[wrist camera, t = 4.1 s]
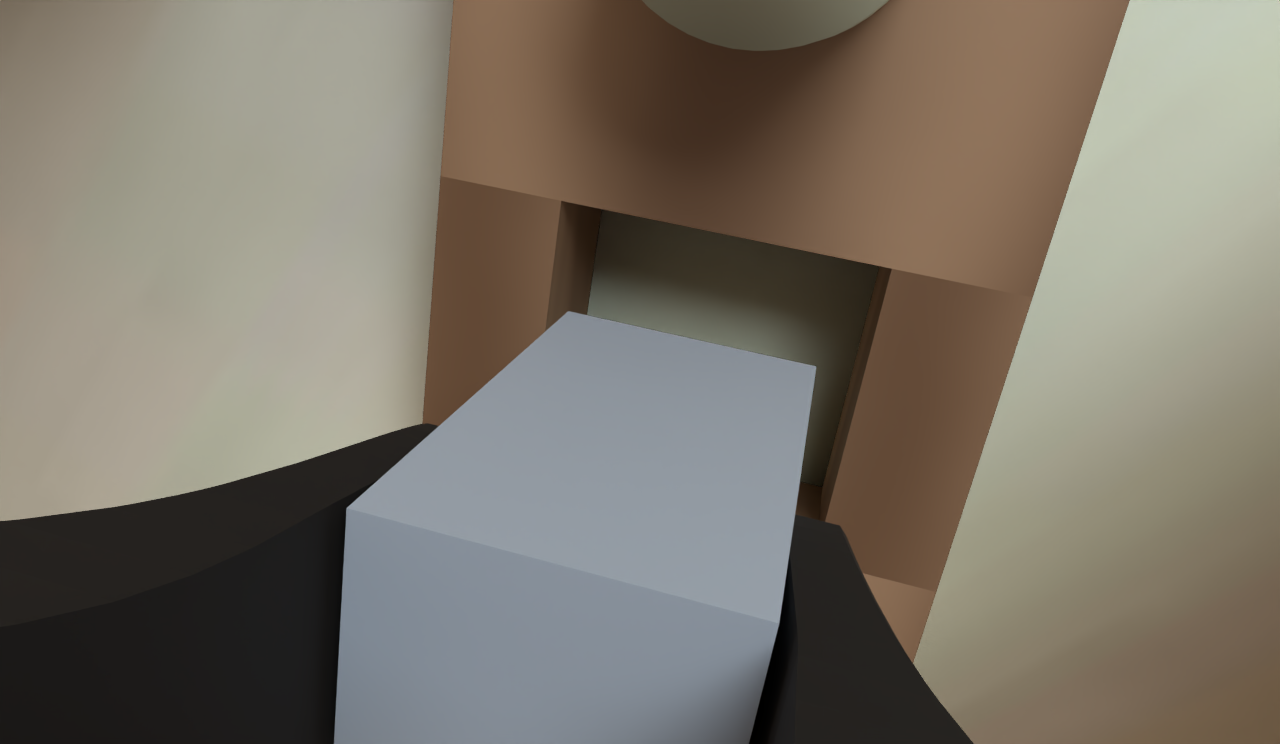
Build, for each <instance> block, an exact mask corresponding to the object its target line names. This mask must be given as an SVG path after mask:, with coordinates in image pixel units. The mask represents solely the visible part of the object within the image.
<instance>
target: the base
mask: <svg viewBox="0 0 1280 744" xmlns="http://www.w3.org/2000/svg"><path fill="white" fill-rule="evenodd" d="M1129 1H1130V0H454V1H453V15H452V28H451V42H450V56H449V69H448V83H447V97H446V110H445V124H444V138H443V151H442V165H441V179H440V192H439V206H438V220H437V233H436V247H435V261H434V274H433V288H432V302H431V315H430V329H429V343H428V356H427V370H426V384H425V397H424V411H423V424H425V423H429V424H433V425H437V426H440V425H441V424H442V423H443V422H444V421H445V420H446V419H447V418H449V417H450V416H451V415H452V414H453V413H454V412H455V411H456V410H458V409H459V408H460V407H461V406H462V405H463V404H464V403H465V402H467V401H468V400H469V399H470V398H471V397H472V396H473V395H474V394H476V393H477V392H478V391H479V390H480V389H481V388H482V387H484V386H485V385H486V384H487V383H488V382H489V381H490V380H491V379H493V378H494V377H495V376H496V375H497V374H498V373H499V372H500V371H502V370H503V369H504V368H505V367H506V366H507V365H508V364H509V363H511V362H512V361H513V360H514V359H515V358H516V357H517V356H518V355H520V354H521V353H522V352H523V351H524V350H525V349H526V348H527V347H529V346H530V345H531V344H532V343H533V342H534V341H535V340H536V339H538V338H539V337H540V336H541V335H542V334H543V333H544V332H545V331H547V330H548V329H549V328H550V327H551V326H552V325H553V324H554V323H556V322H557V321H558V320H559V319H560V318H561V317H562V316H563V315H565V314H566V313H567V312H568V311H570V312H575V313H579V314H584V315H587V310H588V303H589V296H590V289H591V282H592V275H593V267H594V260H595V253H596V246H597V239H598V232H599V224H600V217H601V210H602V209H604V210H609V211H614V212H618V213H623V214H628V215H633V216H638V217H643V218H648V219H652V220H657V221H662V222H667V223H672V224H677V225H682V226H687V227H691V228H696V229H701V230H706V231H711V232H716V233H721V234H726V235H730V236H735V237H740V238H745V239H750V240H755V241H760V242H765V243H769V244H774V245H779V246H784V247H789V248H794V249H799V250H804V251H808V252H813V253H818V254H823V255H828V256H833V257H838V258H842V259H847V260H852V261H857V262H862V263H867V264H872V265H877V266H879V270H878V274H877V278H876V282H875V286H874V290H873V293H872V297H871V301H870V305H869V309H868V313H867V317H866V320H865V324H864V328H863V332H862V336H861V340H860V344H859V347H858V351H857V355H856V359H855V363H854V367H853V371H852V375H851V378H850V382H849V386H848V390H847V394H846V398H845V402H844V405H843V409H842V413H841V417H840V421H839V425H838V429H837V432H836V436H835V440H834V444H833V448H832V452H831V456H830V460H829V463H828V467H827V471H826V475H825V479H824V483H823V487H819V486H815V485H811V484H807V483H803V482H800V484H799V491H798V498H797V505H796V511H795V514H796V515H800V516H804V517H808V518H812V519H816V520H820V521H824V522H828V523H832V524H836V525H840V526H841V528H842V530H843V531H844V533H845V534H846V536H847V538H848V541H849V543H850V546H851V548H852V551H853V553H854V555H855V557H856V560H857V562H858V564H859V566H860V569H861V571H862V573H863V575H864V577H865V579H866V581H867V583H868V585H869V587H870V589H871V591H872V593H873V595H874V597H875V599H876V601H877V603H878V605H879V607H880V608H881V610H882V612H883V614H884V616H885V617H886V619H887V621H888V623H889V624H890V626H891V628H892V630H893V632H894V633H895V635H896V637H897V639H898V640H899V642H900V644H901V645H902V647H903V649H904V650H905V652H906V654H907V655H908V657H909V658H910V660H911V661H912V663H913V662H914V658H915V655H916V652H917V649H918V646H919V643H920V640H921V637H922V634H923V631H924V628H925V625H926V622H927V619H928V616H929V613H930V610H931V606H932V603H933V600H934V597H935V594H936V591H937V588H938V585H939V582H940V579H941V576H942V573H943V570H944V567H945V564H946V561H947V558H948V554H949V551H950V548H951V545H952V542H953V539H954V536H955V533H956V530H957V527H958V524H959V521H960V518H961V515H962V512H963V509H964V505H965V502H966V499H967V496H968V493H969V490H970V487H971V484H972V481H973V478H974V475H975V472H976V469H977V466H978V463H979V460H980V457H981V453H982V450H983V447H984V444H985V441H986V438H987V435H988V432H989V429H990V426H991V423H992V420H993V417H994V414H995V411H996V408H997V405H998V401H999V398H1000V395H1001V392H1002V389H1003V386H1004V383H1005V380H1006V377H1007V374H1008V371H1009V368H1010V365H1011V362H1012V359H1013V356H1014V353H1015V349H1016V346H1017V343H1018V340H1019V337H1020V334H1021V331H1022V328H1023V325H1024V322H1025V319H1026V316H1027V313H1028V310H1029V307H1030V304H1031V300H1032V297H1033V294H1034V291H1035V288H1036V285H1037V282H1038V279H1039V276H1040V273H1041V270H1042V267H1043V264H1044V261H1045V258H1046V255H1047V252H1048V248H1049V245H1050V242H1051V239H1052V236H1053V233H1054V230H1055V227H1056V224H1057V221H1058V218H1059V215H1060V212H1061V209H1062V206H1063V203H1064V200H1065V196H1066V193H1067V190H1068V187H1069V184H1070V181H1071V178H1072V175H1073V172H1074V169H1075V166H1076V163H1077V160H1078V157H1079V154H1080V151H1081V147H1082V144H1083V141H1084V138H1085V135H1086V132H1087V129H1088V126H1089V123H1090V120H1091V117H1092V114H1093V111H1094V108H1095V105H1096V102H1097V99H1098V95H1099V92H1100V89H1101V86H1102V83H1103V80H1104V77H1105V74H1106V71H1107V68H1108V65H1109V62H1110V59H1111V56H1112V53H1113V50H1114V47H1115V43H1116V40H1117V37H1118V34H1119V31H1120V28H1121V25H1122V22H1123V19H1124V16H1125V13H1126V10H1127V7H1128V4H1129Z"/></svg>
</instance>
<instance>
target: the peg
mask: <svg viewBox="0 0 1280 744" xmlns="http://www.w3.org/2000/svg"><path fill="white" fill-rule="evenodd" d="M816 367H817V366H812V365H808V364H803V363H799V362H794V361H790V360H786V359H781V358H777V357H772V356H768V355H763V354H759V353H754V352H750V351H745V350H741V349H736V348H732V347H727V346H723V345H718V344H714V343H709V342H705V341H700V340H696V339H691V338H687V337H682V336H678V335H673V334H669V333H664V332H660V331H655V330H651V329H647V328H642V327H638V326H633V325H629V324H624V323H620V322H615V321H611V320H606V319H602V318H597V317H593V316H588V315H584V314H579V313H575V312H570V311H568V312H567V313H566V314H565V315H563V316H562V317H561V318H560V319H559V320H558V321H557V322H556V323H554V324H553V325H552V326H551V327H550V328H549V329H548V330H547V331H545V332H544V333H543V334H542V335H541V336H540V337H539V338H538V339H536V340H535V341H534V342H533V343H532V344H531V345H530V346H529V347H527V348H526V349H525V350H524V351H523V352H522V353H521V354H520V355H518V356H517V357H516V358H515V359H514V360H513V361H512V362H511V363H509V364H508V365H507V366H506V367H505V368H504V369H503V370H502V371H500V372H499V373H498V374H497V375H496V376H495V377H494V378H493V379H491V380H490V381H489V382H488V383H487V384H486V385H485V386H484V387H482V388H481V389H480V390H479V391H478V392H477V393H476V394H474V395H473V396H472V397H471V398H470V399H469V400H468V401H467V402H465V403H464V404H463V405H462V406H461V407H460V408H459V409H458V410H456V411H455V412H454V413H453V414H452V415H451V416H450V417H449V418H447V419H446V420H445V421H444V422H443V423H442V424H441V425H440V426H438V427H437V428H436V429H435V430H434V431H433V432H432V433H431V434H429V435H428V436H427V437H426V438H425V439H424V440H423V441H422V442H420V443H419V444H418V445H417V446H416V447H415V448H414V449H413V450H411V451H410V452H409V453H408V454H407V455H406V456H405V457H404V458H402V459H401V460H400V461H399V462H398V463H397V464H396V465H395V466H393V467H392V468H391V469H390V470H389V471H388V472H387V473H386V474H384V475H383V476H382V477H381V478H380V479H379V480H378V481H377V482H375V483H374V484H373V485H372V486H371V487H370V488H369V489H367V490H366V491H365V492H364V493H363V494H362V495H361V496H360V497H358V498H357V499H356V500H355V501H354V502H353V503H352V504H351V505H349V506H348V507H347V510H346V528H345V547H344V565H343V584H342V603H341V621H340V640H339V659H338V677H337V696H336V715H335V733H334V744H749V741H750V737H751V733H752V729H753V725H754V721H755V717H756V713H757V709H758V706H759V702H760V698H761V694H762V690H763V686H764V682H765V678H766V674H767V670H768V666H769V662H770V658H771V654H772V650H773V646H774V642H775V638H776V634H777V630H778V626H779V622H780V615H781V608H782V601H783V594H784V587H785V580H786V574H787V567H788V560H789V553H790V546H791V539H792V532H793V525H794V518H795V511H796V505H797V498H798V491H799V484H800V477H801V470H802V463H803V456H804V449H805V443H806V436H807V429H808V422H809V415H810V408H811V401H812V394H813V387H814V380H815V374H816Z"/></svg>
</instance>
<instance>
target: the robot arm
mask: <svg viewBox="0 0 1280 744" xmlns="http://www.w3.org/2000/svg"><path fill="white" fill-rule="evenodd" d="M437 427H438V426H437V425H433V424H429V423H425V424H420V425H415V426H411V427H408V428H404V429H401V430H397V431H394V432H391V433H387V434H384V435H381V436H378V437H375V438H372V439H369V440H366V441H363V442H360V443H357V444H354V445H351V446H348V447H345V448H342V449H339V450H336V451H333V452H330V453H327V454H324V455H321V456H318V457H315V458H311V459H308V460H305V461H302V462H299V463H296V464H293V465H289V466H286V467H282V468H279V469H275V470H272V471H268V472H265V473H261V474H258V475H254V476H251V477H247V478H244V479H240V480H237V481H233V482H230V483H226V484H223V485H219V486H215V487H211V488H207V489H203V490H198V491H194V492H189V493H185V494H181V495H176V496H171V497H166V498H161V499H156V500H151V501H145V502H140V503H135V504H130V505H124V506H118V507H112V508H104V509H97V510H89V511H82V512H74V513H66V514H59V515H51V516H44V517H36V518H28V519H20V520H9V521H0V744H334V733H335V715H336V696H337V677H338V659H339V640H340V621H341V603H342V584H343V565H344V547H345V528H346V510H347V507H348V506H349V505H351V504H352V503H353V502H354V501H355V500H356V499H357V498H358V497H360V496H361V495H362V494H363V493H364V492H365V491H366V490H367V489H369V488H370V487H371V486H372V485H373V484H374V483H375V482H377V481H378V480H379V479H380V478H381V477H382V476H383V475H384V474H386V473H387V472H388V471H389V470H390V469H391V468H392V467H393V466H395V465H396V464H397V463H398V462H399V461H400V460H401V459H402V458H404V457H405V456H406V455H407V454H408V453H409V452H410V451H411V450H413V449H414V448H415V447H416V446H417V445H418V444H419V443H420V442H422V441H423V440H424V439H425V438H426V437H427V436H428V435H429V434H431V433H432V432H433V431H434V430H435V429H436V428H437ZM749 744H973V742H972V741H971V740H970V739H969V737H968V736H967V735H966V734H965V733H964V731H963V730H962V729H961V728H960V726H959V725H958V724H957V723H956V721H955V720H954V719H953V718H952V716H951V715H950V714H949V713H948V712H947V710H946V709H945V708H944V707H943V705H942V704H941V703H940V702H939V700H938V699H937V698H936V696H935V695H934V693H933V692H932V691H931V689H930V688H929V687H928V685H927V684H926V683H925V681H924V680H923V678H922V677H921V675H920V674H919V672H918V671H917V669H916V668H915V666H914V664H913V663H912V661H911V660H910V658H909V657H908V655H907V654H906V652H905V650H904V649H903V647H902V645H901V644H900V642H899V640H898V639H897V637H896V635H895V633H894V632H893V630H892V628H891V626H890V624H889V623H888V621H887V619H886V617H885V616H884V614H883V612H882V610H881V608H880V607H879V605H878V603H877V601H876V599H875V597H874V595H873V593H872V591H871V589H870V587H869V585H868V583H867V581H866V579H865V577H864V575H863V573H862V571H861V569H860V566H859V564H858V562H857V560H856V557H855V555H854V553H853V551H852V548H851V546H850V543H849V541H848V538H847V536H846V534H845V533H844V531H843V530H842V528H841V526H840V525H836V524H832V523H828V522H824V521H820V520H816V519H812V518H808V517H804V516H800V515H796V514H795V518H794V525H793V532H792V539H791V546H790V553H789V560H788V567H787V574H786V580H785V587H784V594H783V601H782V608H781V615H780V622H779V626H778V630H777V634H776V638H775V642H774V646H773V650H772V654H771V658H770V662H769V666H768V670H767V674H766V678H765V682H764V686H763V690H762V694H761V698H760V702H759V706H758V709H757V713H756V717H755V721H754V725H753V729H752V733H751V737H750V741H749Z"/></svg>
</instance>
